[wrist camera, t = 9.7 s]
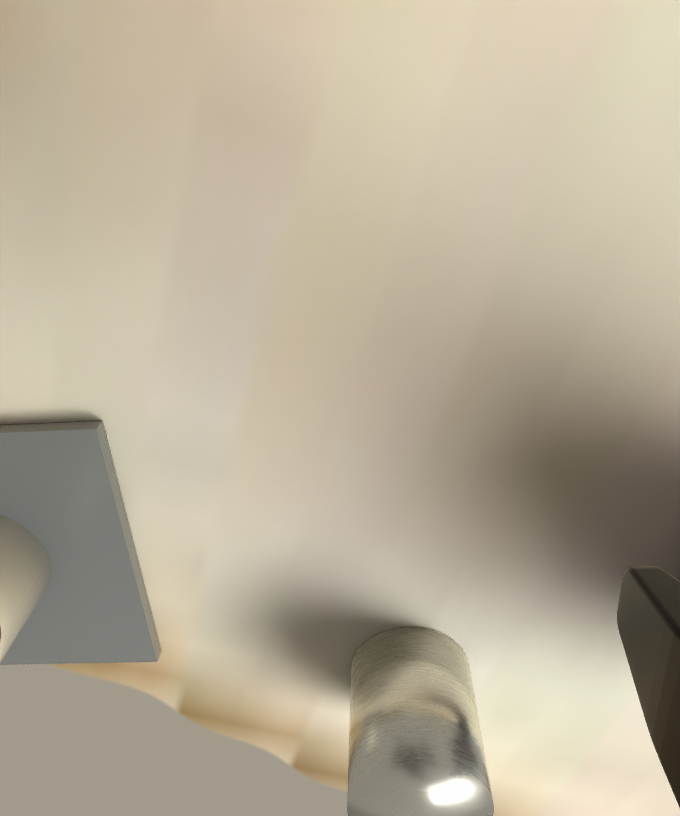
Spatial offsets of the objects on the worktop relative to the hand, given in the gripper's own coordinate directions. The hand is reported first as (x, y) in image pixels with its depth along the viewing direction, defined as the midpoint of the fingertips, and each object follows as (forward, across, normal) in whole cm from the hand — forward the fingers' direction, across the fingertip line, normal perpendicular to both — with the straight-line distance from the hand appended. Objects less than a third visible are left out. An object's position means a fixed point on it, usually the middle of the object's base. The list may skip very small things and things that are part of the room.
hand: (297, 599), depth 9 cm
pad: (+13, +14, +9) cm, 21 cm away
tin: (+13, -2, +16) cm, 21 cm away
